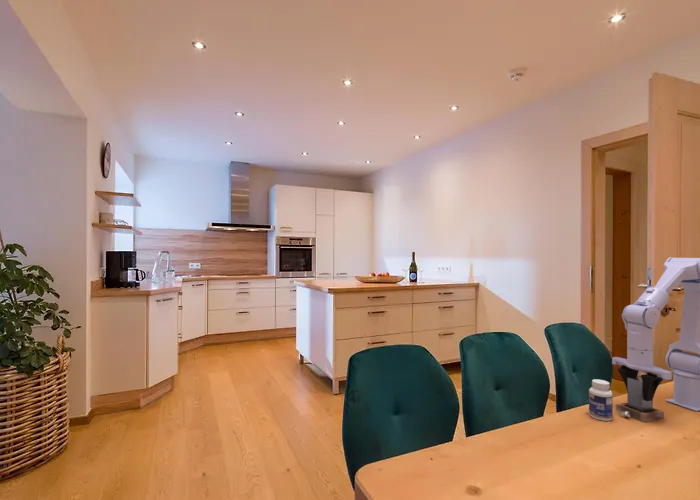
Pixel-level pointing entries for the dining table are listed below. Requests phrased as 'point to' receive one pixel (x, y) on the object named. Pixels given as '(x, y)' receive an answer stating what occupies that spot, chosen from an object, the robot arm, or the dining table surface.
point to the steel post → (637, 394)
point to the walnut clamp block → (640, 413)
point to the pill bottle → (600, 400)
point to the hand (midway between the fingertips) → (639, 397)
